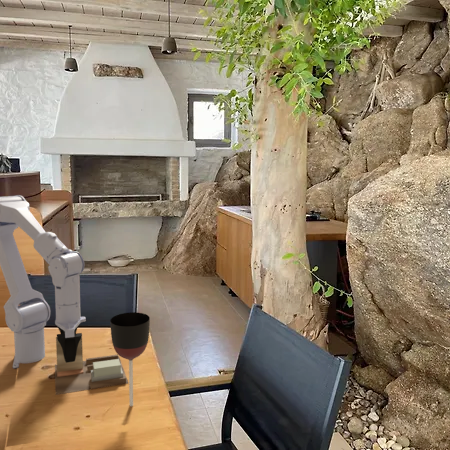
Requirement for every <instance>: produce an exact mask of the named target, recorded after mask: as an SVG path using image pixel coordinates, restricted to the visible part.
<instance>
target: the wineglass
mask: <svg viewBox="0 0 450 450" xmlns="http://www.w3.org/2000/svg"><path fill="white" fill-rule="evenodd" d="M150 321H151V320H150V316H149V315H148V314H146V313H143V312H134V311H133V312H123V313H120V314H119V313H118V314H115V315H114V316H112V317H111V318H110V321H109V322H110V335H111V343H112V346H113V349H114V351H115V353H116V355H118V356H119V357H121V358H122V359H125V360H128V374H129V375H128V384H129V385H128V387H129V391H128V393H129V394H128V395H129V406H130V407H133V406H134V374H133V372H134V371H133V370H134V369H133V368H134V367H133V365H134V364H133V360H134V359H136V358H138V357H140V356H141V355H142V354H143V353H144V352H145V350H146V348H147V346H148V344H149V338H150V336H149V335H150V324H151V322H150Z"/></svg>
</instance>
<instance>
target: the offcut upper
mask: <svg viewBox="0 0 450 450" xmlns="http://www.w3.org/2000/svg"><path fill="white" fill-rule="evenodd" d="M120 361H121V360H120ZM120 361H119V359H114V360H107V361H100V362H93V372H94V377H98V376H105V375H112V374H118V373H121V364H120Z"/></svg>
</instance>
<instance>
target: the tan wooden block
mask: <svg viewBox="0 0 450 450" xmlns="http://www.w3.org/2000/svg"><path fill="white" fill-rule="evenodd" d="M55 345H56V347H55V348H56V350H55V351H56V365H57V372H62V371H69V370H76V369H83V361H84V354H83V353H84V352H83V336H82V337H81V340H80V341H79V344H78V347H77V353H76V359H75V361H74V362H67V363H66V362H65V359H64V354H63V350H62V347H61V345H60V343H59V341H58V340H57V336H56V337H55Z"/></svg>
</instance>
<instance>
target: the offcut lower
mask: <svg viewBox="0 0 450 450" xmlns="http://www.w3.org/2000/svg"><path fill="white" fill-rule="evenodd" d="M121 377H123V371H122V368H121V373H118V374H112V375H105V376H98V377H94V372H93V370H91V380H92V382H95V381H101V380H108V379H115V378H121Z"/></svg>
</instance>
